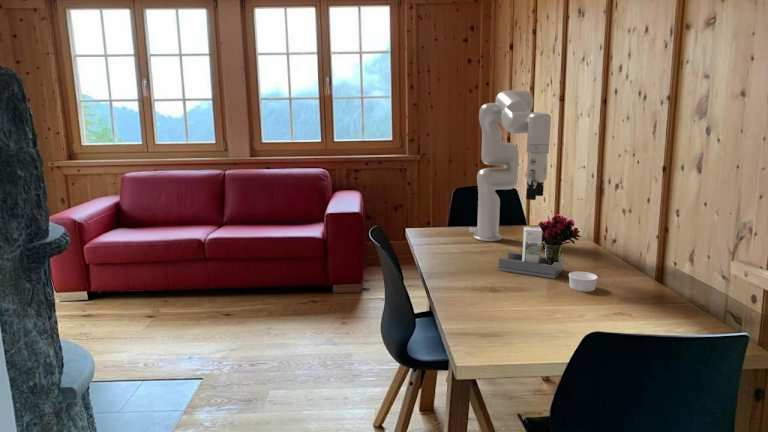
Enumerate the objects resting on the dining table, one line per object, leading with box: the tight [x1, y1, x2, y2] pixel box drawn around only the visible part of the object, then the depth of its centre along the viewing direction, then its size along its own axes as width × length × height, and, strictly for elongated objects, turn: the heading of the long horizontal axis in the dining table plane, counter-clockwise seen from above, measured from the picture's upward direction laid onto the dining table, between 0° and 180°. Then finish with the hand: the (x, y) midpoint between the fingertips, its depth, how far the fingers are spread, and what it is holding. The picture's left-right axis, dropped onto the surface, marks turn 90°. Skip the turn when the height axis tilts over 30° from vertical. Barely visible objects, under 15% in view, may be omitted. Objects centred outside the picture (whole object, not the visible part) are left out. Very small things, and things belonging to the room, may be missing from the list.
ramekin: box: [568, 271, 598, 293], centre depth 177 cm, size 9×9×4 cm
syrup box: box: [521, 226, 543, 263], centre depth 196 cm, size 6×6×14 cm
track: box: [497, 251, 564, 279], centre depth 197 cm, size 20×13×4 cm, turn 60°
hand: (534, 197), depth 193 cm, fingers open, 9 cm apart
